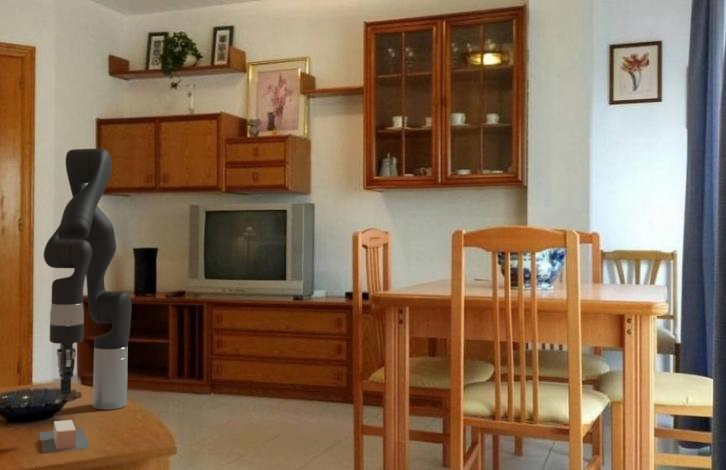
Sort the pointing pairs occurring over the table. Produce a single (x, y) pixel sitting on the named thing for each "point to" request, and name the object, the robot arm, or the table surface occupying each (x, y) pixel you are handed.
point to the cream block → (64, 434)
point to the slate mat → (50, 447)
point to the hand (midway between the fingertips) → (65, 393)
